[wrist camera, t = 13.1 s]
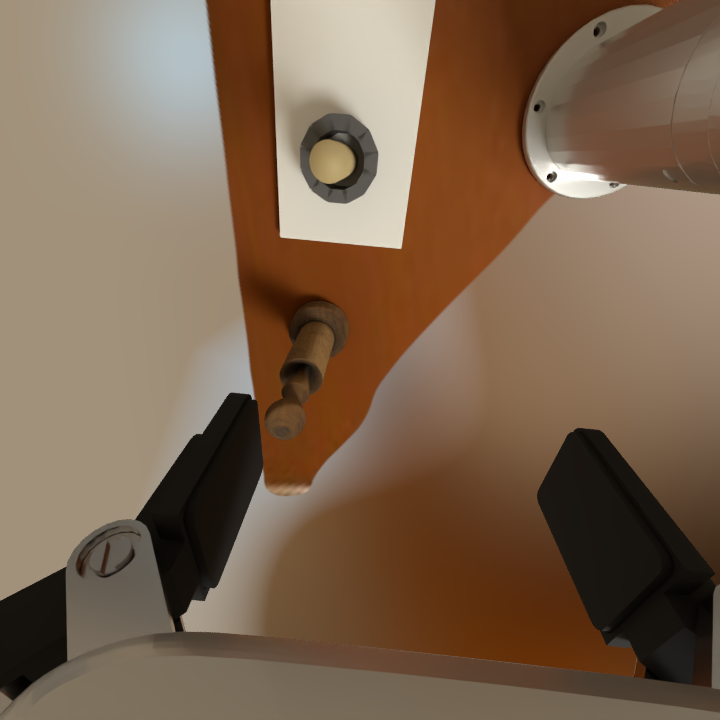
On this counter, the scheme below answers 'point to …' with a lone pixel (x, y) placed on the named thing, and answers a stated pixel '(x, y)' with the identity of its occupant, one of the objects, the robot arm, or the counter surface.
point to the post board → (348, 111)
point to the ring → (326, 130)
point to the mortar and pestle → (306, 364)
